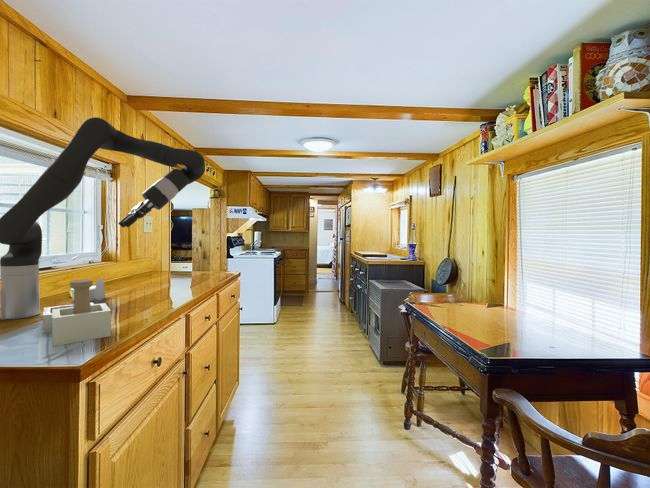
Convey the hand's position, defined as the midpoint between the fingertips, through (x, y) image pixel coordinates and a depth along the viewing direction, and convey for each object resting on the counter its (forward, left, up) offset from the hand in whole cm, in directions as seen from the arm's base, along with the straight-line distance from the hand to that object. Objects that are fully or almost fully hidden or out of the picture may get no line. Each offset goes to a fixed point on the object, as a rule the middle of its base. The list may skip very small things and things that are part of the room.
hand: (122, 225), depth 101 cm
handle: (-11, -12, -31) cm, 35 cm away
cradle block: (-12, -12, -31) cm, 35 cm away
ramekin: (-7, +44, -31) cm, 54 cm away
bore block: (-14, +3, -31) cm, 34 cm away
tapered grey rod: (-4, +24, -31) cm, 40 cm away
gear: (-9, +56, -31) cm, 65 cm away
